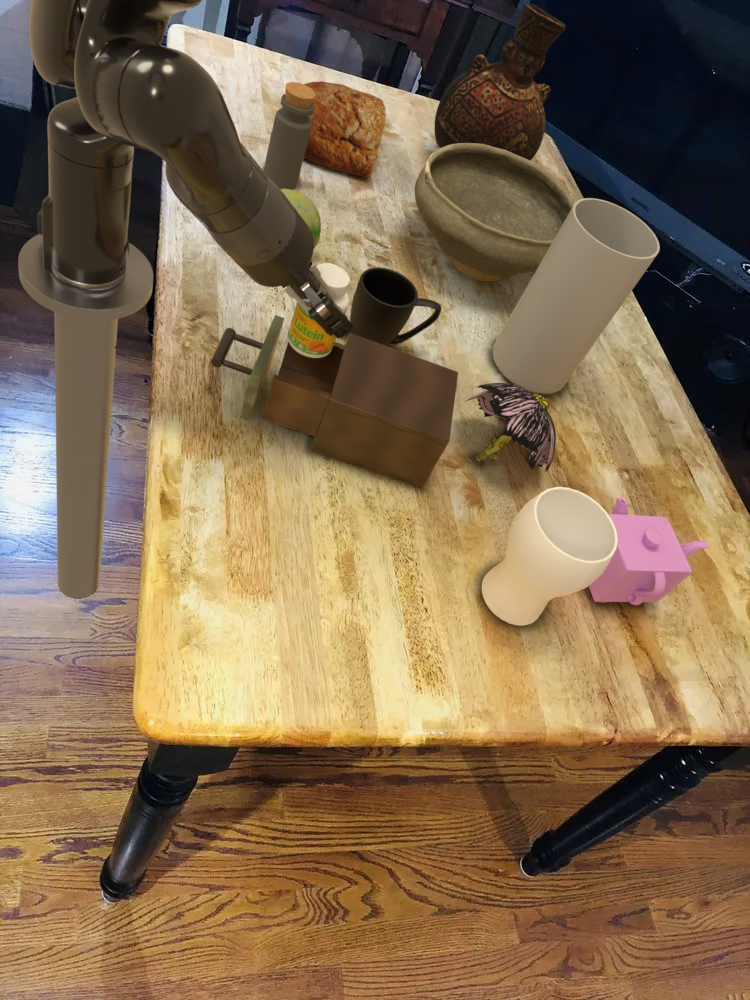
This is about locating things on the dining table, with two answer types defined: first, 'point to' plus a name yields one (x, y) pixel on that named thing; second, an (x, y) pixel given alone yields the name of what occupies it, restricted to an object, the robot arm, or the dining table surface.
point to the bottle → (290, 135)
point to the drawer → (285, 380)
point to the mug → (387, 307)
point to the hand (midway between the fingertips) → (332, 313)
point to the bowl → (490, 209)
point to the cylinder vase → (574, 294)
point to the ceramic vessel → (502, 92)
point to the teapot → (643, 559)
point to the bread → (345, 128)
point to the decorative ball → (305, 211)
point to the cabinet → (388, 412)
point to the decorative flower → (519, 422)
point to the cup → (549, 554)
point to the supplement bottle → (307, 331)
